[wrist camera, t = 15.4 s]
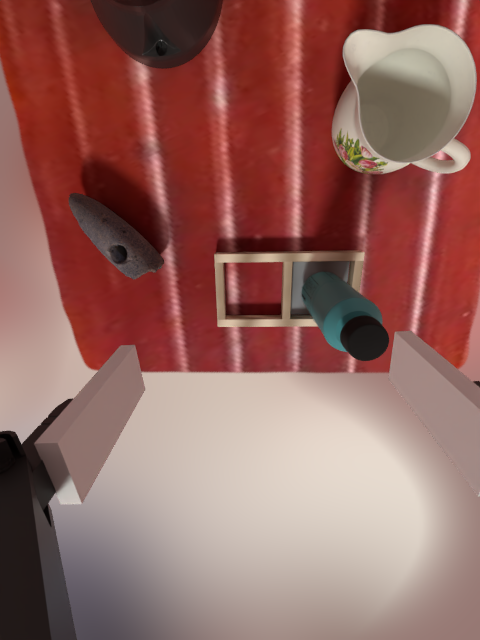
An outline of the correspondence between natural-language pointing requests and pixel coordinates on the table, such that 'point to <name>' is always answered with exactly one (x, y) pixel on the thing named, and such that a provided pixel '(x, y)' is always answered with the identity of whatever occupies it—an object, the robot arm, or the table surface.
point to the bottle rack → (287, 282)
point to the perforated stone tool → (115, 237)
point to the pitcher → (404, 100)
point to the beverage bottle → (345, 316)
